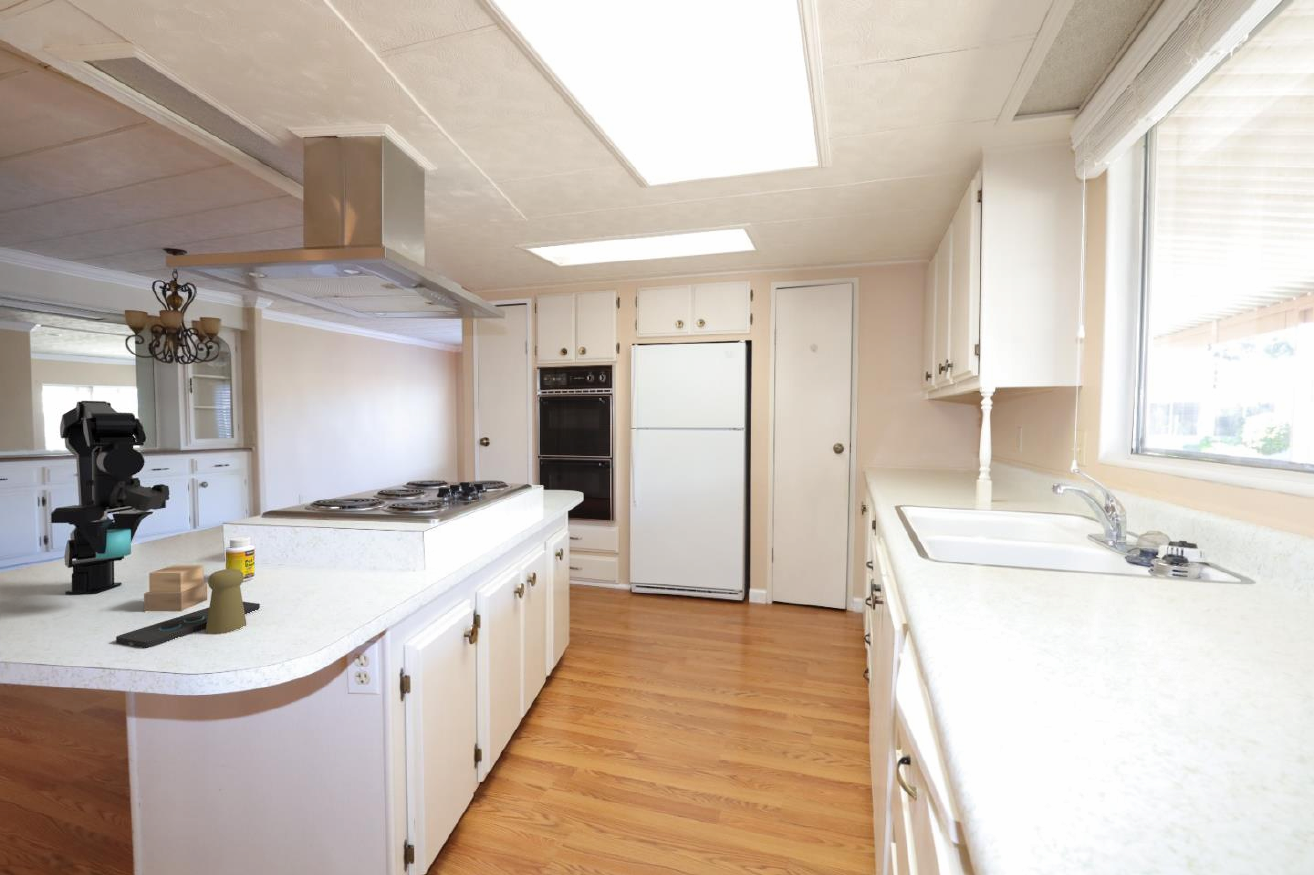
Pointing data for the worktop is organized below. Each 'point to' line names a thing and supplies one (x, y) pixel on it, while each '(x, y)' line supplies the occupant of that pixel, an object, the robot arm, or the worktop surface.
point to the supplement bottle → (241, 556)
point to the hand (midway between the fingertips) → (113, 550)
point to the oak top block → (176, 578)
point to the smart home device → (172, 628)
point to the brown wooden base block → (175, 599)
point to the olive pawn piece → (225, 602)
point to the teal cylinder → (117, 544)
